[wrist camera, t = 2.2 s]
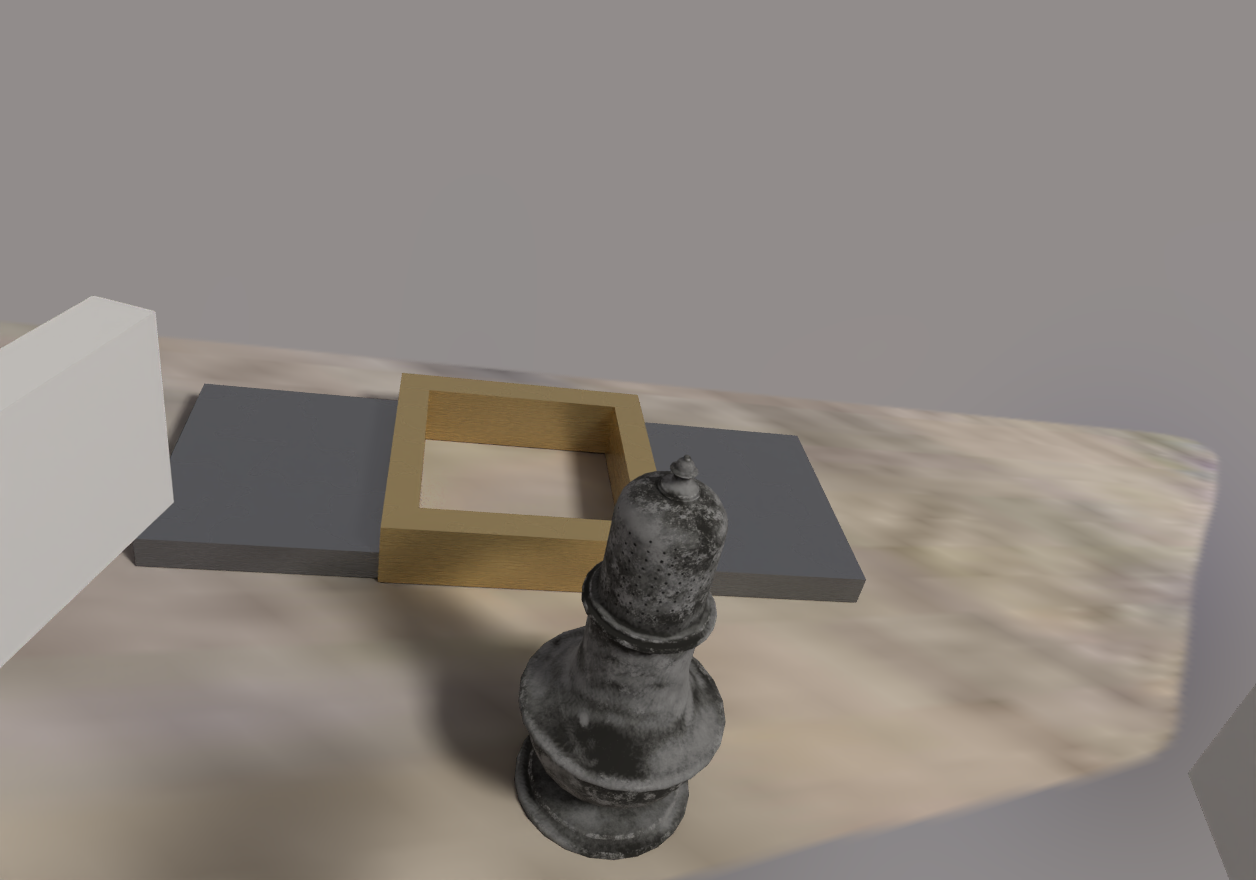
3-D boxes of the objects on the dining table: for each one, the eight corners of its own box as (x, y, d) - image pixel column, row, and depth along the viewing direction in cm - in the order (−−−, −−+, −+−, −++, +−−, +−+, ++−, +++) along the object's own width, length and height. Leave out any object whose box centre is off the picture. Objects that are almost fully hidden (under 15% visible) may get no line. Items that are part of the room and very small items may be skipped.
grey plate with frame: (134, 569, 32) (126, 511, 31) (207, 405, 41) (203, 354, 39) (858, 605, 38) (878, 558, 36) (789, 454, 46) (803, 410, 45)
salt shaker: (649, 687, 32) (736, 383, 26) (731, 838, 28) (859, 519, 21) (480, 722, 30) (529, 395, 23) (541, 895, 25) (622, 553, 19)
